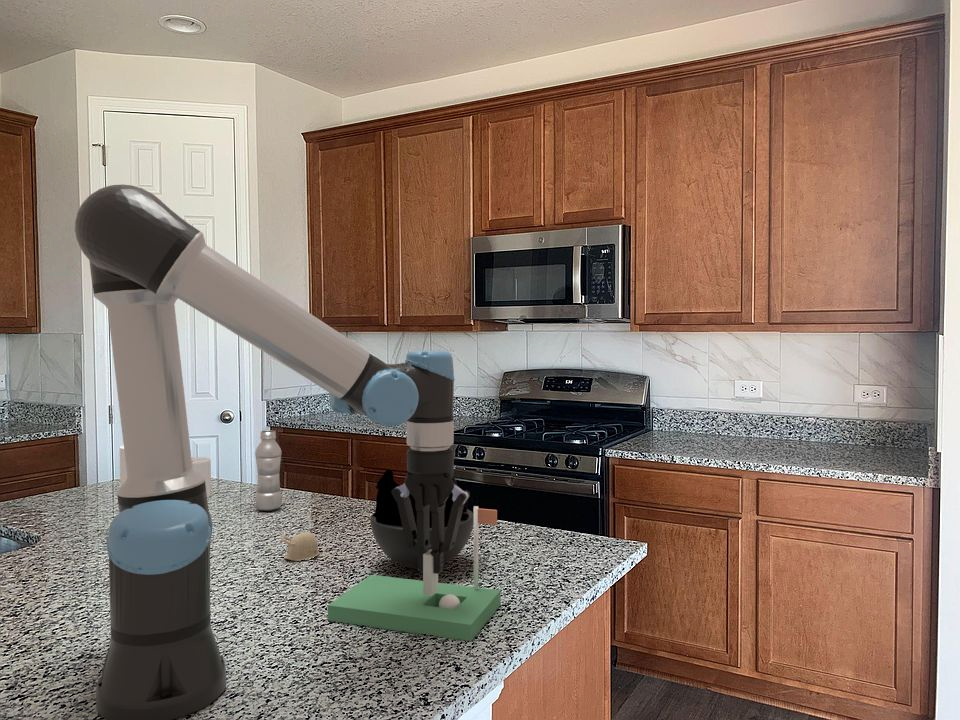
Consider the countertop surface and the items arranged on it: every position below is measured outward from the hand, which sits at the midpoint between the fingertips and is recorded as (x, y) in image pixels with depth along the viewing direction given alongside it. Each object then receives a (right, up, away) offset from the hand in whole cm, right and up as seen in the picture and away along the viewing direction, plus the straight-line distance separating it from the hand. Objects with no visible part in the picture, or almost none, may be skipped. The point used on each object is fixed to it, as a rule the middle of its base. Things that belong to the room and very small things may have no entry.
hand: (430, 591), depth 119 cm
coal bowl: (-3, -3, +24) cm, 24 cm away
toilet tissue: (-70, 0, +81) cm, 107 cm away
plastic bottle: (-45, -1, +68) cm, 81 cm away
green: (-2, -4, +1) cm, 4 cm away
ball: (+3, -2, -1) cm, 4 cm away
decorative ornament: (-28, -3, +29) cm, 40 cm away
